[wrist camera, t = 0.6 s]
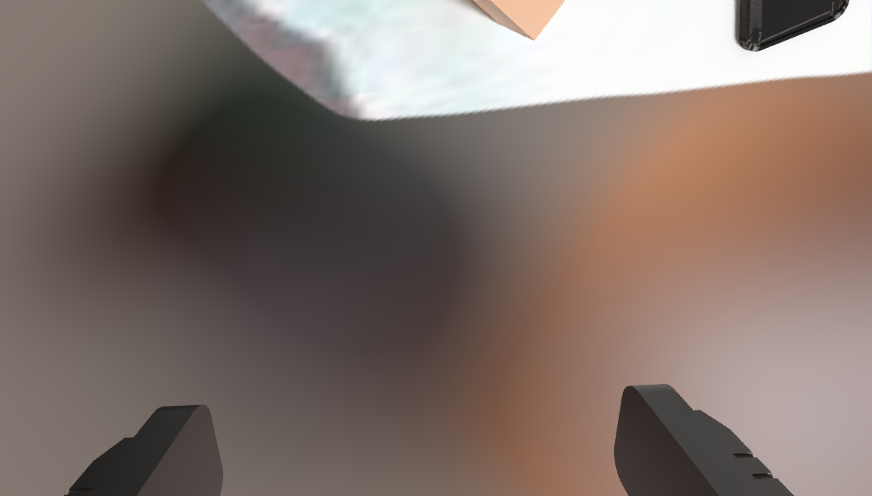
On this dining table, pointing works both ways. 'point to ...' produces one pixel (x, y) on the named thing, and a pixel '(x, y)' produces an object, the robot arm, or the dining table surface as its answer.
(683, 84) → the dining table surface
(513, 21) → the horizontal wooden crosspiece
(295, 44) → the dining table surface
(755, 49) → the phone
